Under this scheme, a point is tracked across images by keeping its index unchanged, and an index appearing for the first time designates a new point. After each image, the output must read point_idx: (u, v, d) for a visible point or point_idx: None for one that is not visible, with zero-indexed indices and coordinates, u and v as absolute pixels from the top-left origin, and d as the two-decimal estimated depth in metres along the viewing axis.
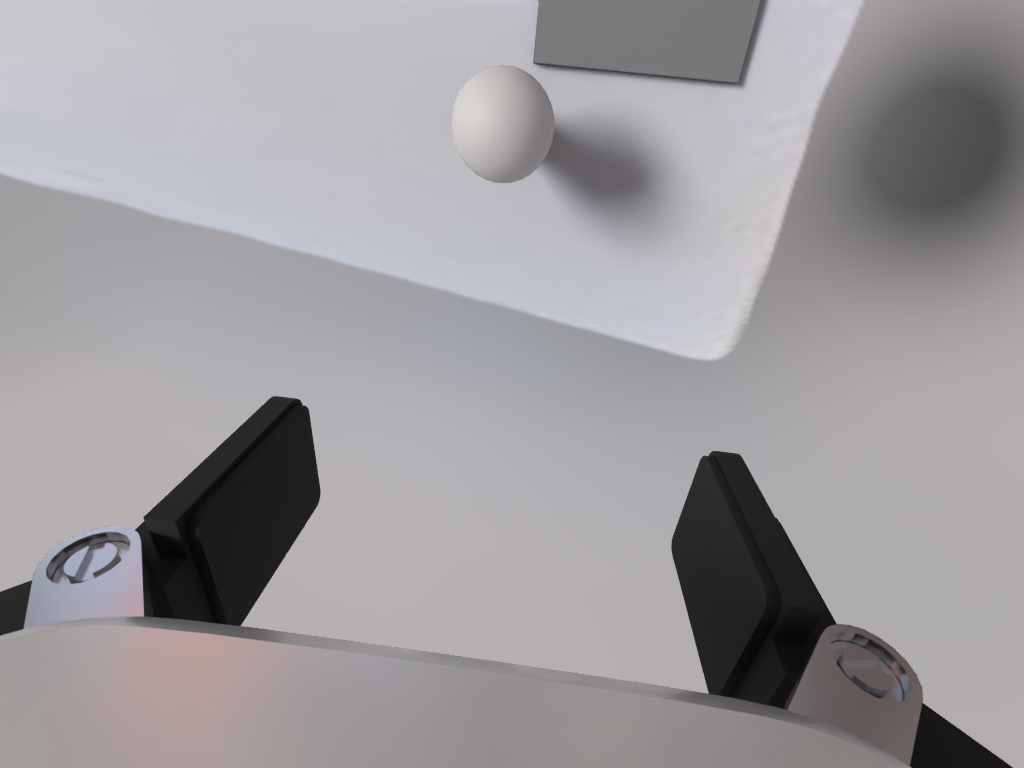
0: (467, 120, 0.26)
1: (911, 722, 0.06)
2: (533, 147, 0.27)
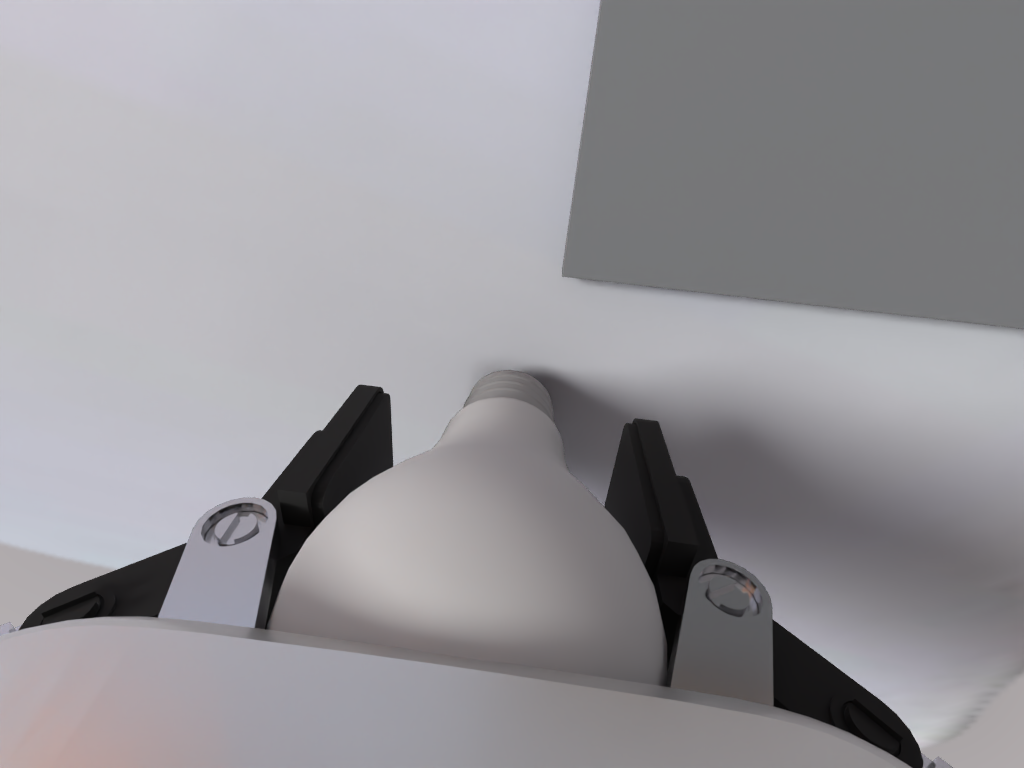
0: None
1: (768, 630, 0.07)
2: None
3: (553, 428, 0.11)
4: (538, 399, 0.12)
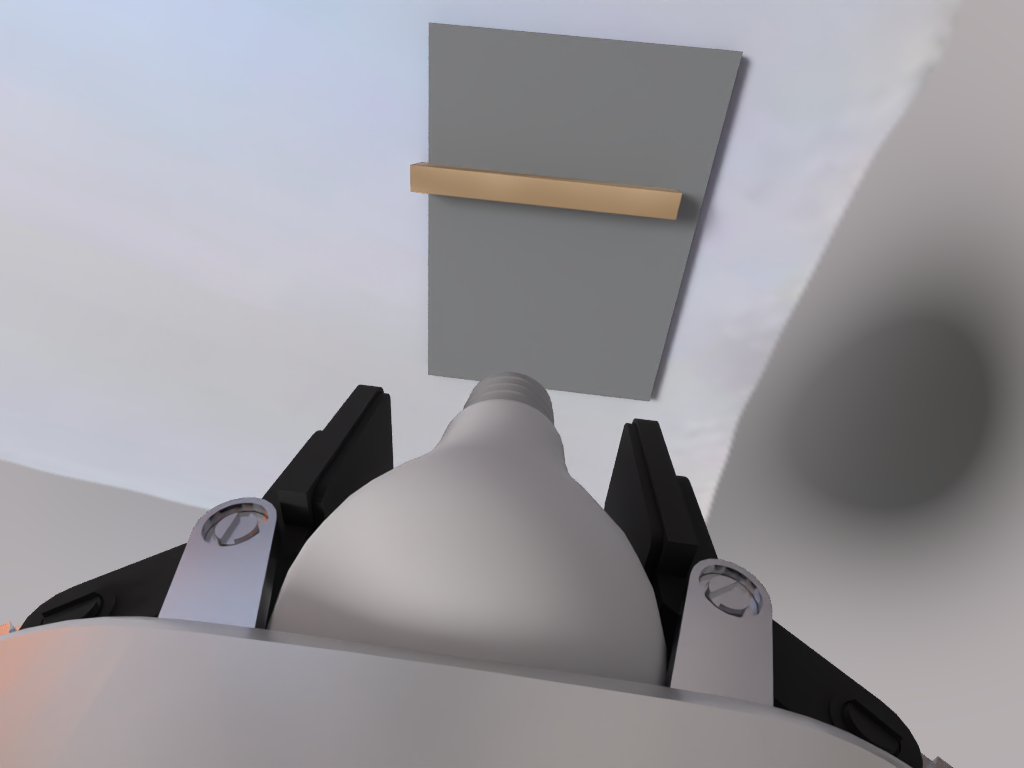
0: None
1: (768, 630, 0.07)
2: None
3: (553, 430, 0.11)
4: (538, 401, 0.12)
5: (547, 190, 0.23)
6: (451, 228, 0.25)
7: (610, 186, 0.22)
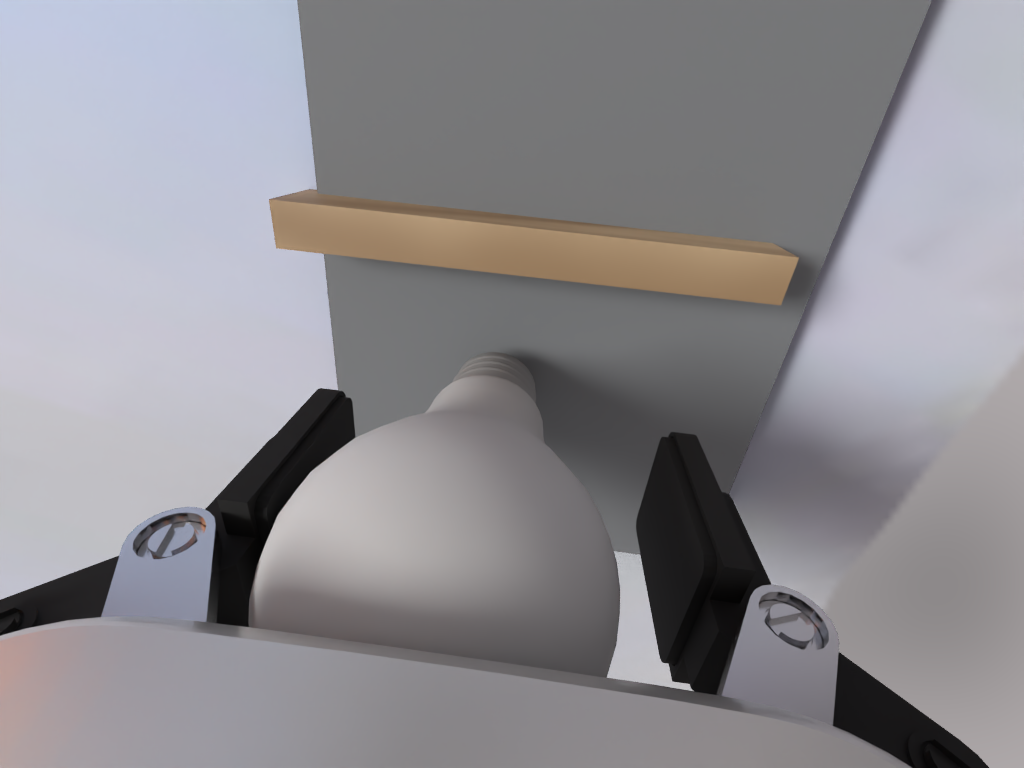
0: None
1: (832, 667, 0.06)
2: None
3: (532, 404, 0.12)
4: (520, 378, 0.13)
5: (534, 249, 0.12)
6: (368, 303, 0.15)
7: (657, 242, 0.11)
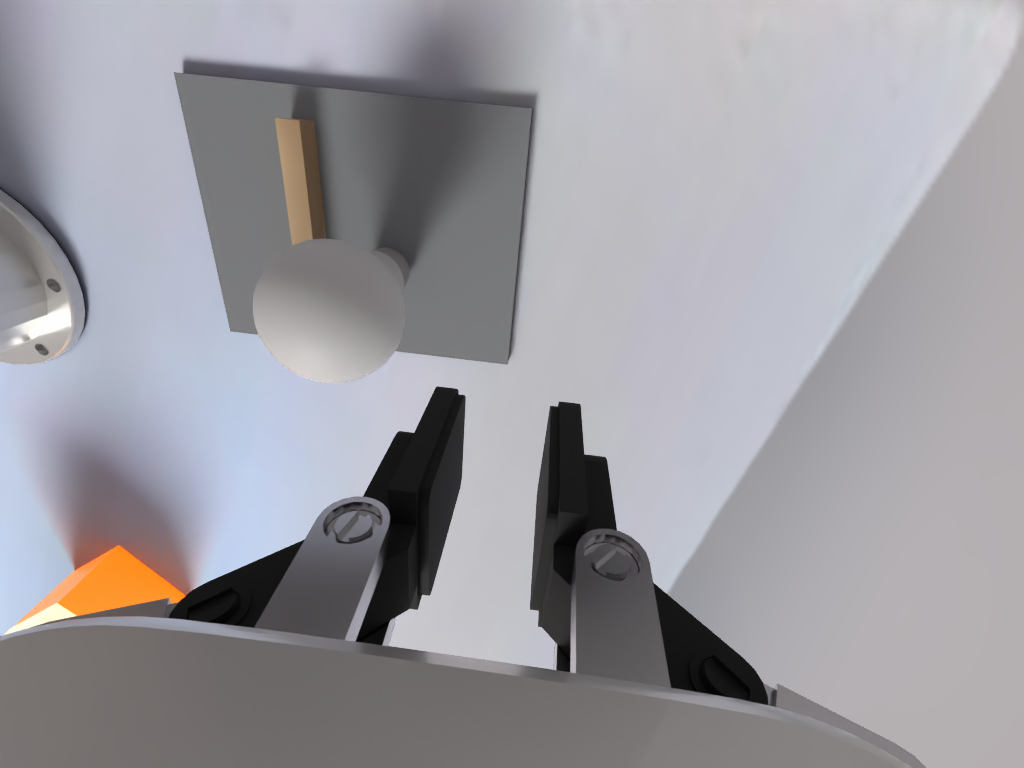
0: (305, 373, 0.19)
1: (649, 585, 0.07)
2: (324, 282, 0.17)
3: None
4: None
5: None
6: None
7: (286, 192, 0.24)
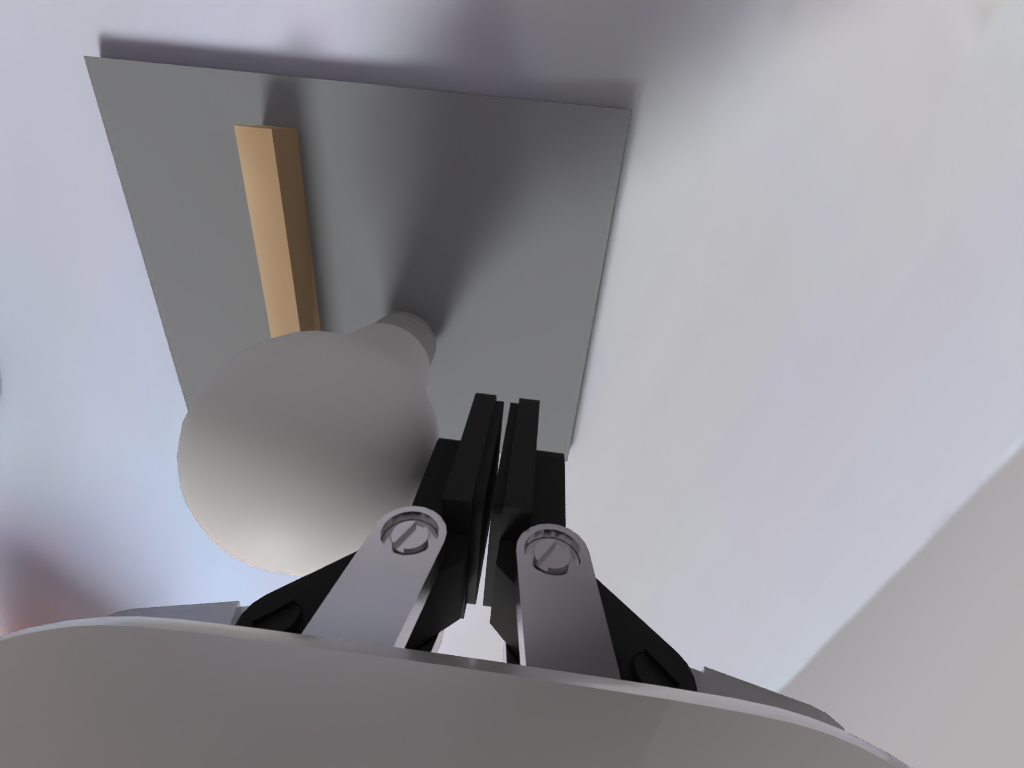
0: None
1: (591, 575, 0.07)
2: (300, 434, 0.09)
3: (352, 333, 0.16)
4: None
5: (280, 317, 0.18)
6: None
7: (255, 235, 0.16)
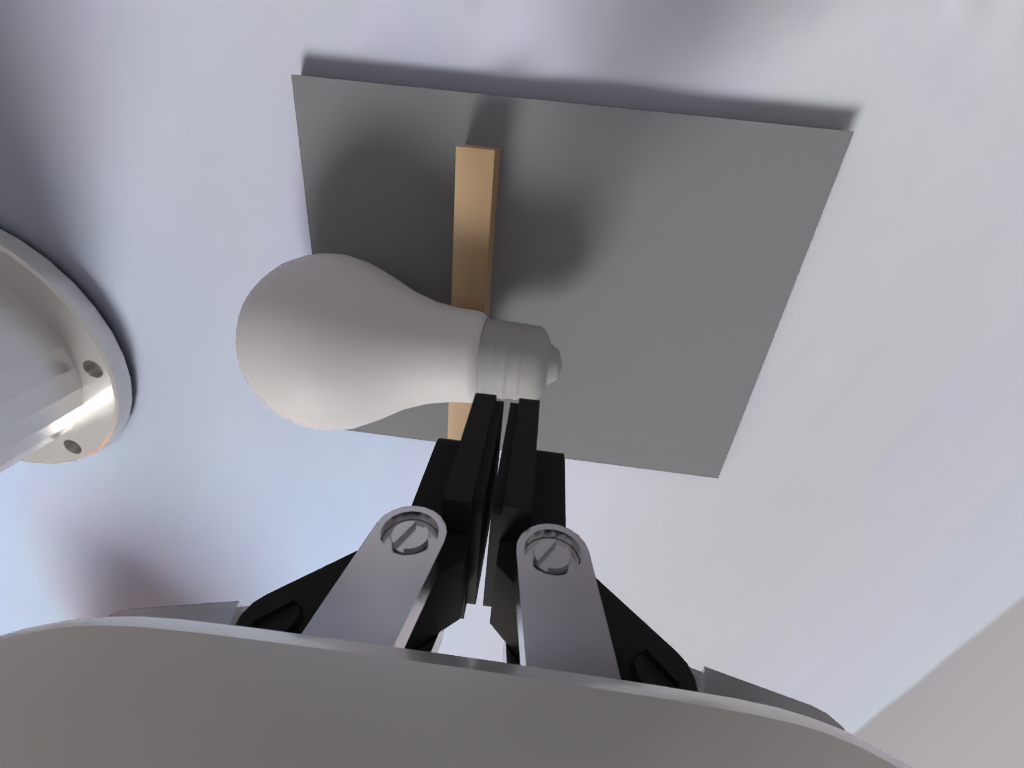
0: None
1: (591, 575, 0.07)
2: None
3: None
4: None
5: None
6: None
7: (454, 255, 0.16)
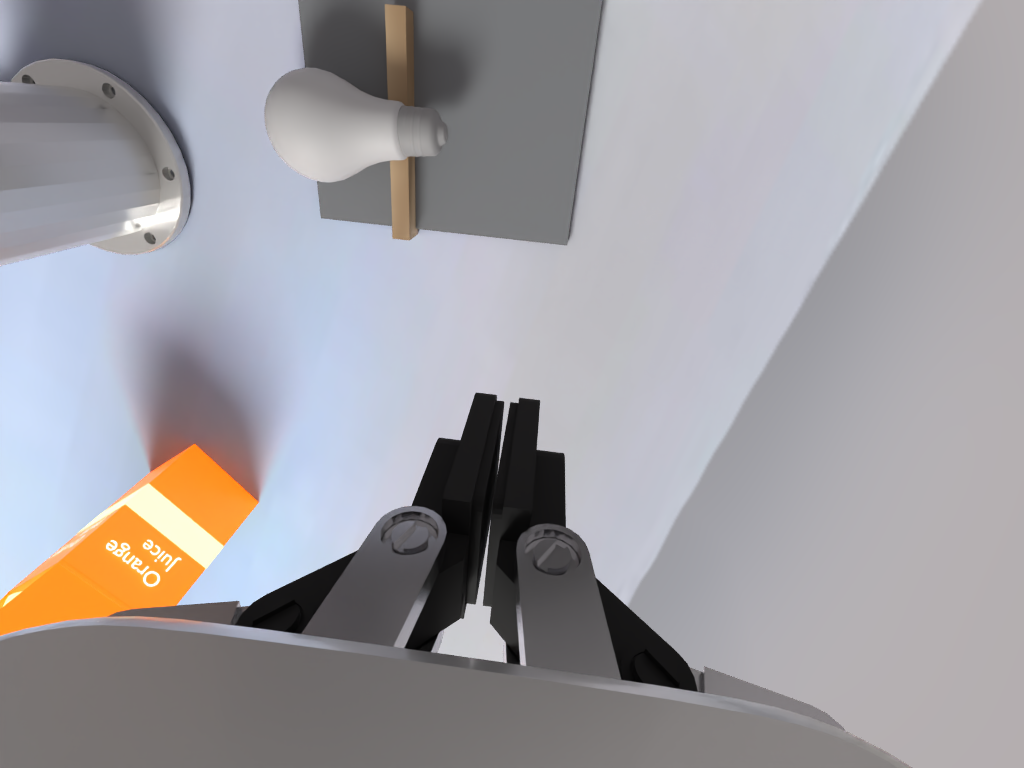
0: None
1: (591, 575, 0.07)
2: None
3: None
4: None
5: None
6: (441, 213, 0.33)
7: (388, 74, 0.28)
